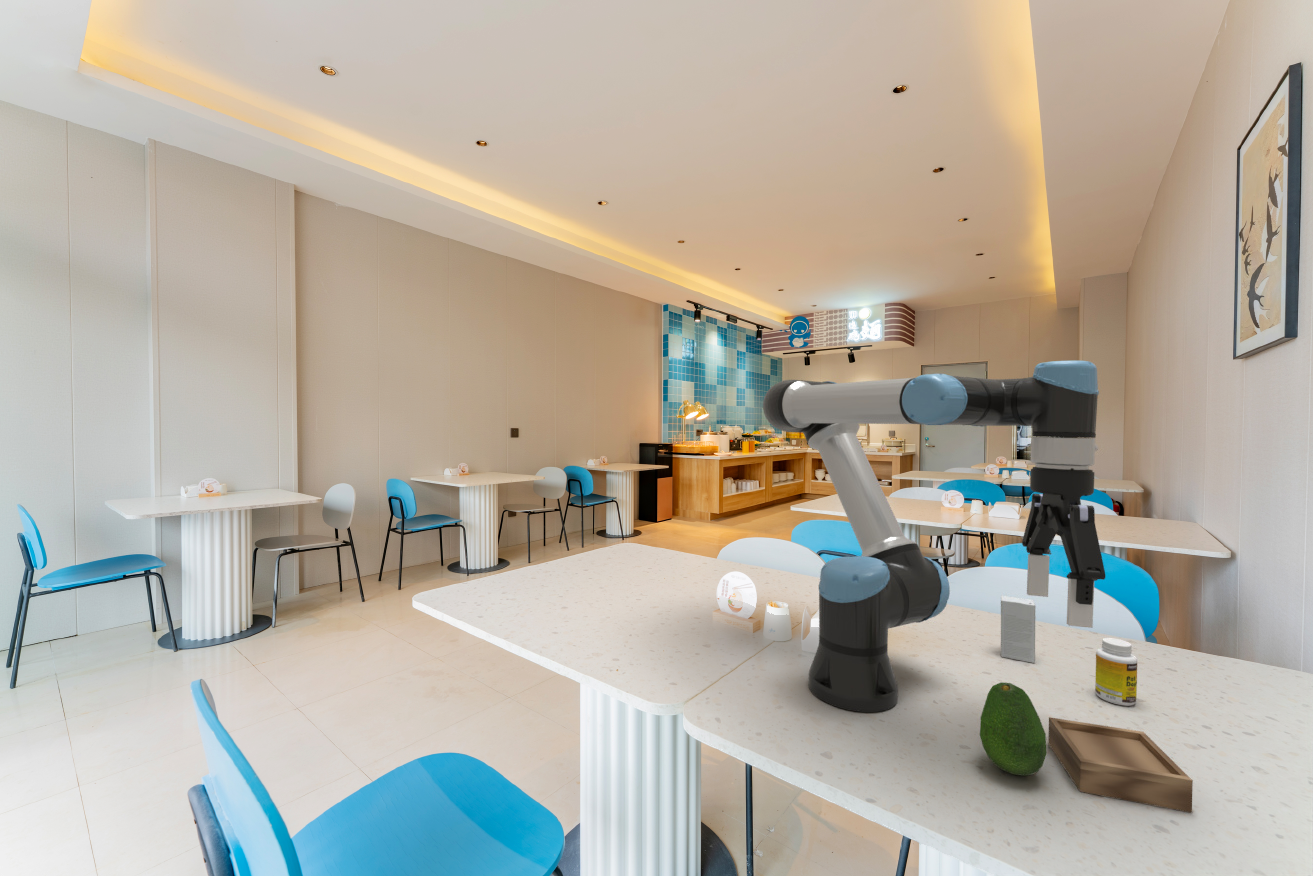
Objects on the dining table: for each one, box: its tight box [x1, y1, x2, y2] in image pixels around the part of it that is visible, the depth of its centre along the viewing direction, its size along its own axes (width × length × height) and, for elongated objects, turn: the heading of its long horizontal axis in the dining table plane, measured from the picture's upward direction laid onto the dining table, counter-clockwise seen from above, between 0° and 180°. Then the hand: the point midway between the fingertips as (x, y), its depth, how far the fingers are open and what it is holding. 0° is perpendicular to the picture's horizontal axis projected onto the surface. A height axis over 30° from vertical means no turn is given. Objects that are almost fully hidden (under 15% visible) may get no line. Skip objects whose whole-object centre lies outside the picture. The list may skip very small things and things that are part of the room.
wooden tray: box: [1047, 716, 1194, 813], centre depth 74 cm, size 12×12×4 cm
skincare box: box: [1000, 595, 1037, 664], centre depth 113 cm, size 6×4×12 cm
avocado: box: [979, 681, 1048, 777], centre depth 74 cm, size 8×8×12 cm
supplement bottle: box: [1094, 637, 1138, 707], centre depth 95 cm, size 6×6×10 cm
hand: (1056, 609), depth 80 cm, fingers open, 13 cm apart
